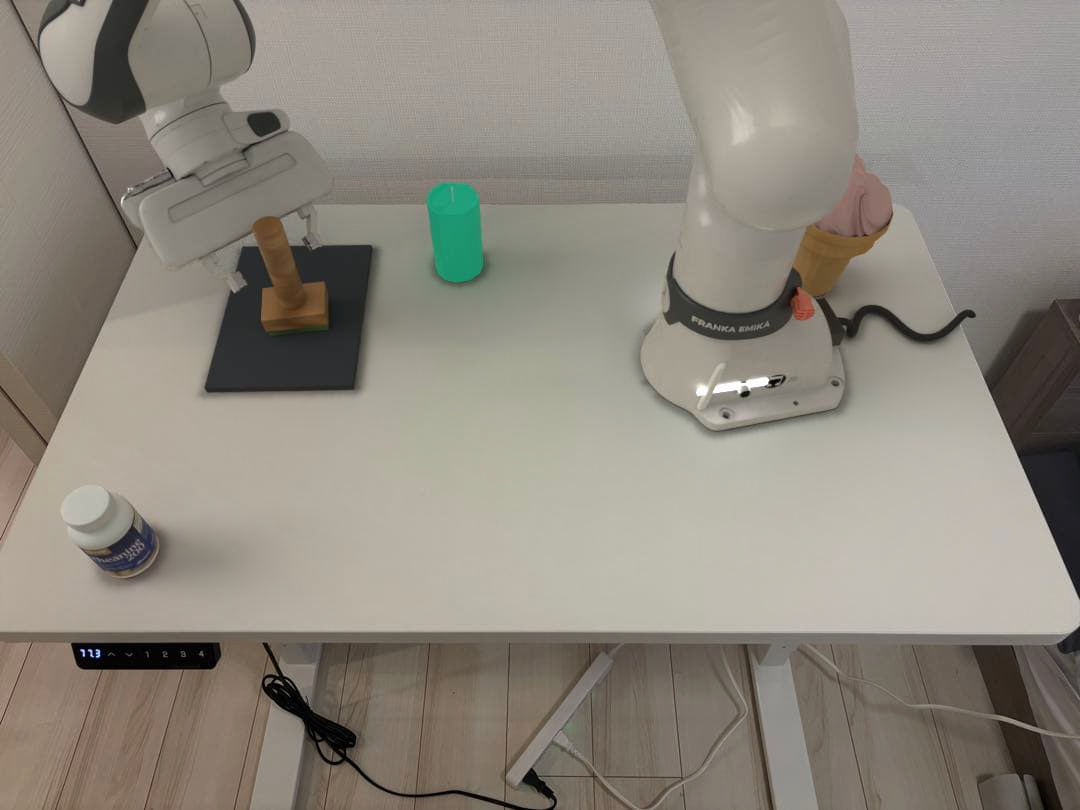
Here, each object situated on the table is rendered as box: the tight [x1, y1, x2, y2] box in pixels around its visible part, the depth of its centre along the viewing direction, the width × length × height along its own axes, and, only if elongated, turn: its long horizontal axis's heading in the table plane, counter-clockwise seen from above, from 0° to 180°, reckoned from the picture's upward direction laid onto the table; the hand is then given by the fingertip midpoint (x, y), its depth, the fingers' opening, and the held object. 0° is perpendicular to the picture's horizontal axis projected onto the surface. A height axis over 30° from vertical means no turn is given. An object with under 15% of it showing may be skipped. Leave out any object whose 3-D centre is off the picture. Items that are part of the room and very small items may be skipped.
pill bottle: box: [60, 484, 160, 579], centre depth 71 cm, size 5×5×10 cm
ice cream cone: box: [793, 153, 894, 297], centre depth 89 cm, size 11×11×20 cm
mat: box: [204, 244, 373, 393], centre depth 93 cm, size 16×22×1 cm
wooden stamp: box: [252, 216, 329, 336], centre depth 86 cm, size 7×5×14 cm
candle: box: [426, 182, 485, 283], centre depth 93 cm, size 6×6×12 cm
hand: (280, 268), depth 86 cm, fingers open, 8 cm apart
